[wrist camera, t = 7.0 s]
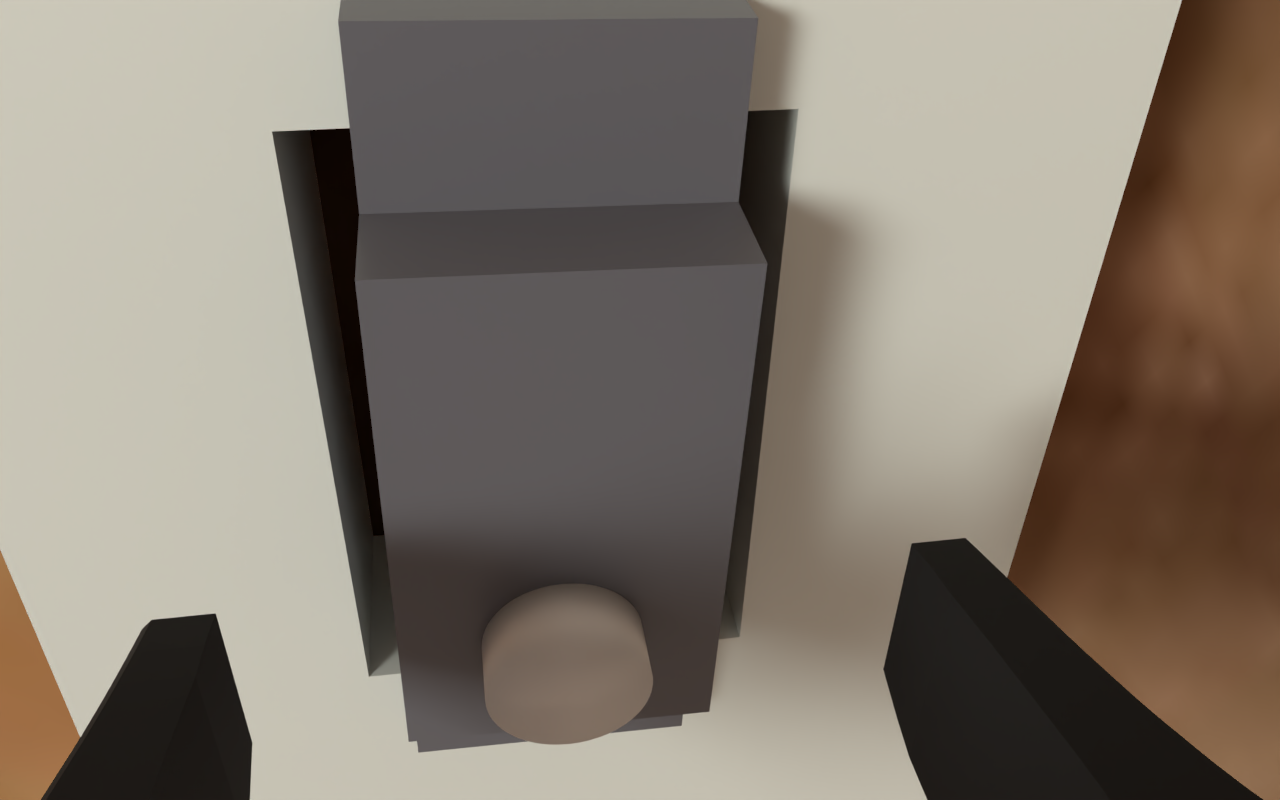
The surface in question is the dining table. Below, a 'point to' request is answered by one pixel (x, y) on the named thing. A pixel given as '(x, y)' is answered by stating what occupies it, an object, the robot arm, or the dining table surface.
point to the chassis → (323, 410)
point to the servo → (554, 350)
